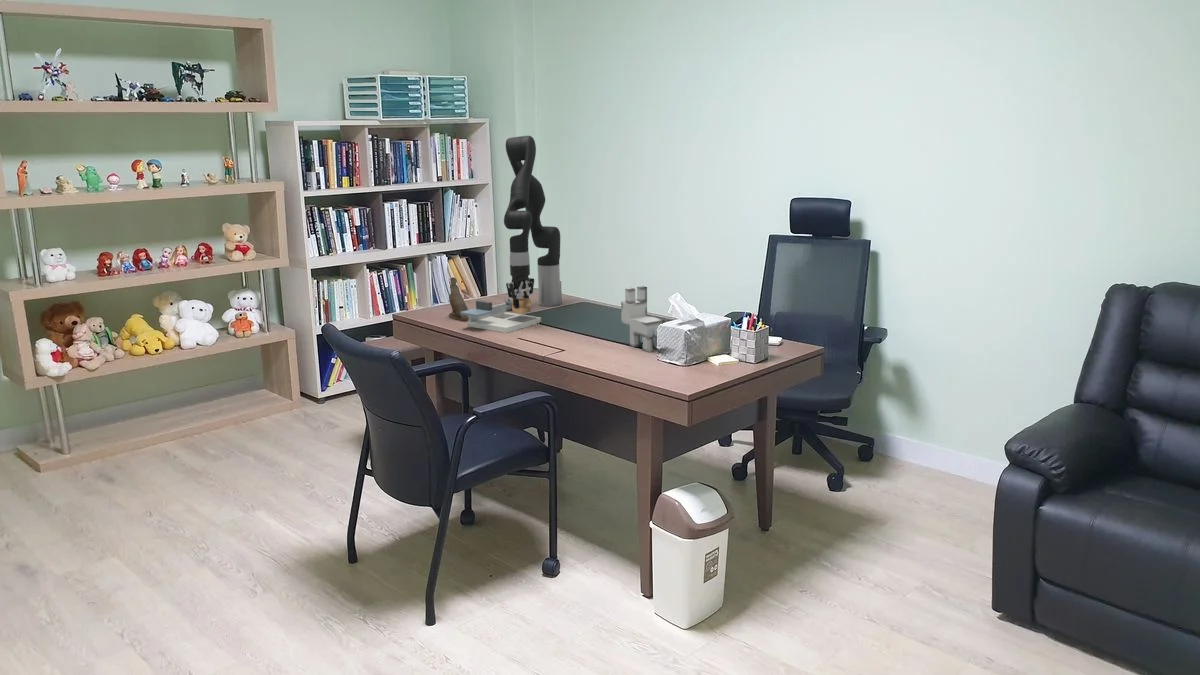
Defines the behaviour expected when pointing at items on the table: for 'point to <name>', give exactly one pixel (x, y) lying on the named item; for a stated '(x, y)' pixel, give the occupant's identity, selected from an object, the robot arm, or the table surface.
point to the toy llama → (639, 319)
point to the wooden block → (522, 306)
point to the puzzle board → (502, 320)
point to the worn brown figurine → (457, 302)
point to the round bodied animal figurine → (509, 301)
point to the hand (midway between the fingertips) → (521, 306)
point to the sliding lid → (480, 309)
